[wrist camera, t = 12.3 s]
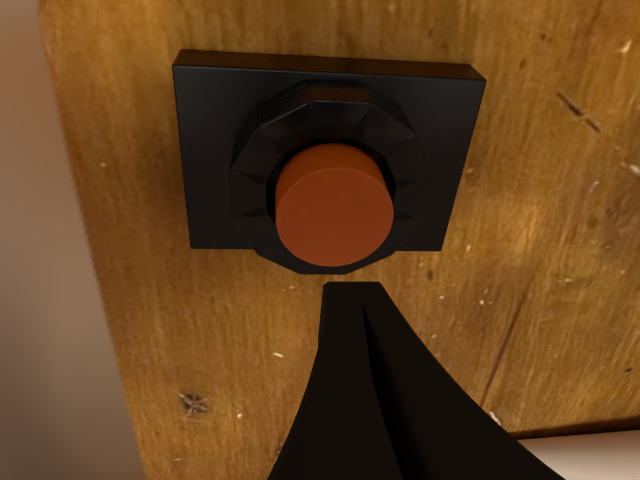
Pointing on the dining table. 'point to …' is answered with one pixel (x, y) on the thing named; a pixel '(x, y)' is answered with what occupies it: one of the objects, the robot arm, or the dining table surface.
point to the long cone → (590, 455)
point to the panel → (319, 141)
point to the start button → (332, 205)
